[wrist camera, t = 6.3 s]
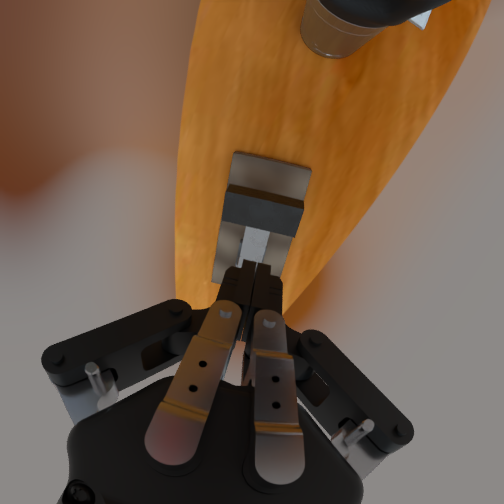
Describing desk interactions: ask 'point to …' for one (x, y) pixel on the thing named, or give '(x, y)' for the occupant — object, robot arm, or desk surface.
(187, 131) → the desk surface
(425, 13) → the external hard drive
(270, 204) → the lever
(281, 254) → the base
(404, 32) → the desk surface
